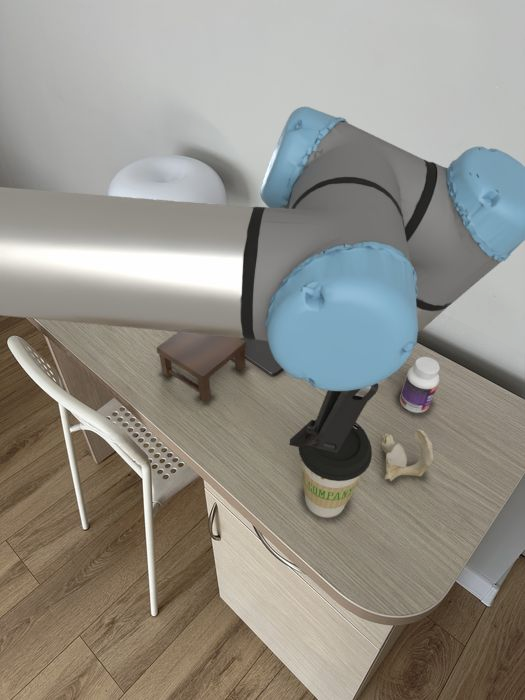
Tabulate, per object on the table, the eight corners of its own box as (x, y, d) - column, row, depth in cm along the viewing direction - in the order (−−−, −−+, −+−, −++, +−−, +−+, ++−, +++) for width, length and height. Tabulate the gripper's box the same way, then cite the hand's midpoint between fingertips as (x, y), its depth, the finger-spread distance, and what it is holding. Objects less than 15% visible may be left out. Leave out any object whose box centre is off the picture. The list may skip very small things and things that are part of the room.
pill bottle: (428, 417, 87) (442, 379, 80) (397, 409, 88) (409, 371, 81) (430, 395, 90) (445, 357, 84) (401, 388, 91) (413, 350, 85)
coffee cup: (279, 498, 75) (283, 439, 64) (321, 459, 80) (331, 400, 69) (329, 543, 70) (342, 487, 59) (370, 499, 75) (389, 441, 64)
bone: (357, 463, 78) (390, 413, 74) (373, 453, 83) (404, 407, 79) (402, 500, 74) (439, 449, 70) (416, 488, 79) (450, 440, 75)
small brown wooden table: (161, 374, 93) (156, 347, 88) (203, 342, 100) (200, 315, 95) (205, 403, 88) (202, 377, 83) (246, 367, 95) (246, 341, 90)
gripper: (438, 434, 40) (326, 496, 57) (416, 223, 54) (331, 325, 71) (356, 414, 39) (266, 484, 56) (355, 201, 52) (283, 311, 69)
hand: (302, 395), depth 63 cm, fingers open, 13 cm apart
